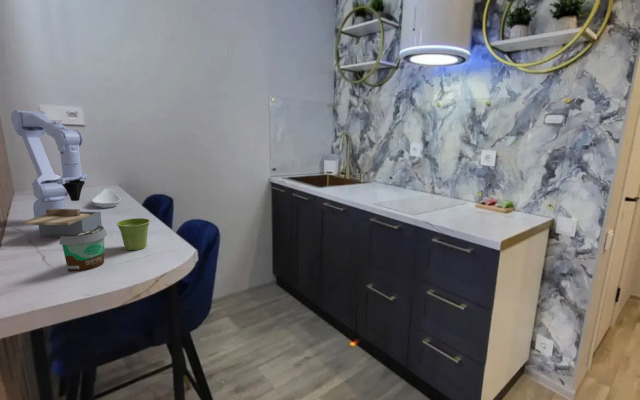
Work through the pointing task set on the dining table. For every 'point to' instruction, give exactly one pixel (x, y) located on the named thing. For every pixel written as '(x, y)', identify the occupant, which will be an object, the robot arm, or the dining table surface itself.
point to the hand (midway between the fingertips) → (75, 200)
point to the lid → (57, 217)
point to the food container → (84, 249)
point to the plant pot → (134, 233)
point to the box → (72, 226)
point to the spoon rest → (106, 199)
